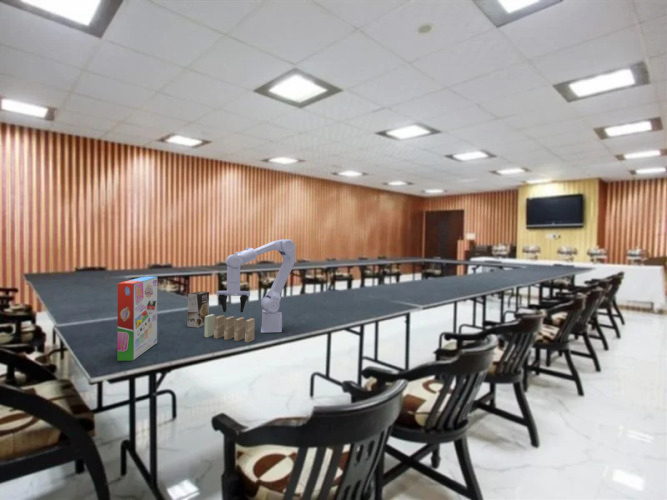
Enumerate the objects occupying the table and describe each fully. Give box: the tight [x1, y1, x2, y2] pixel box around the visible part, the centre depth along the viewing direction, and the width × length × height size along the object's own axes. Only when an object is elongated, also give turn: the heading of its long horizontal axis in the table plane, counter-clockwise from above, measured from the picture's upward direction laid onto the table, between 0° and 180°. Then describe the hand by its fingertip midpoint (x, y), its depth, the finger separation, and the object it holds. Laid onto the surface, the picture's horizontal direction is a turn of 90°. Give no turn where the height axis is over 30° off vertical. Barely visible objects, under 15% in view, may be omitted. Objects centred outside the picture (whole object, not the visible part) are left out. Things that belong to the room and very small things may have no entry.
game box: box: [116, 275, 158, 362], centre depth 133 cm, size 21×6×27 cm, turn 5°
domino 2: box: [213, 314, 226, 339], centre depth 155 cm, size 2×5×9 cm, turn 162°
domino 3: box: [223, 315, 235, 341], centre depth 154 cm, size 2×5×9 cm, turn 162°
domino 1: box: [204, 313, 216, 338], centre depth 157 cm, size 2×5×9 cm, turn 162°
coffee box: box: [186, 291, 210, 329], centre depth 175 cm, size 9×6×16 cm
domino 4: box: [233, 316, 245, 342], centre depth 152 cm, size 2×5×9 cm, turn 162°
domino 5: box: [244, 317, 256, 343], centre depth 151 cm, size 2×5×9 cm, turn 162°
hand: (233, 311), depth 159 cm, fingers open, 7 cm apart
